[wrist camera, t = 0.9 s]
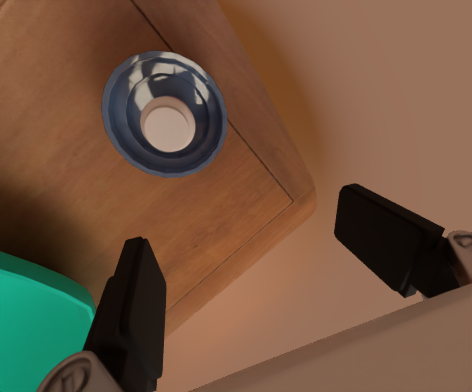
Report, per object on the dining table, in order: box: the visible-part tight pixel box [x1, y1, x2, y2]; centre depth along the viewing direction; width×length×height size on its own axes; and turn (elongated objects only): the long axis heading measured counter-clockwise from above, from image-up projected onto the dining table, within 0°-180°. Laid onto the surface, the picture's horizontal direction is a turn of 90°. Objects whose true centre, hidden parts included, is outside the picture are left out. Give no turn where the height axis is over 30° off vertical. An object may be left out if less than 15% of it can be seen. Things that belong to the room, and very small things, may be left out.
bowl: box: [101, 50, 227, 178], centre depth 25 cm, size 13×13×5 cm
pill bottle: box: [140, 95, 195, 152], centre depth 23 cm, size 5×5×10 cm
